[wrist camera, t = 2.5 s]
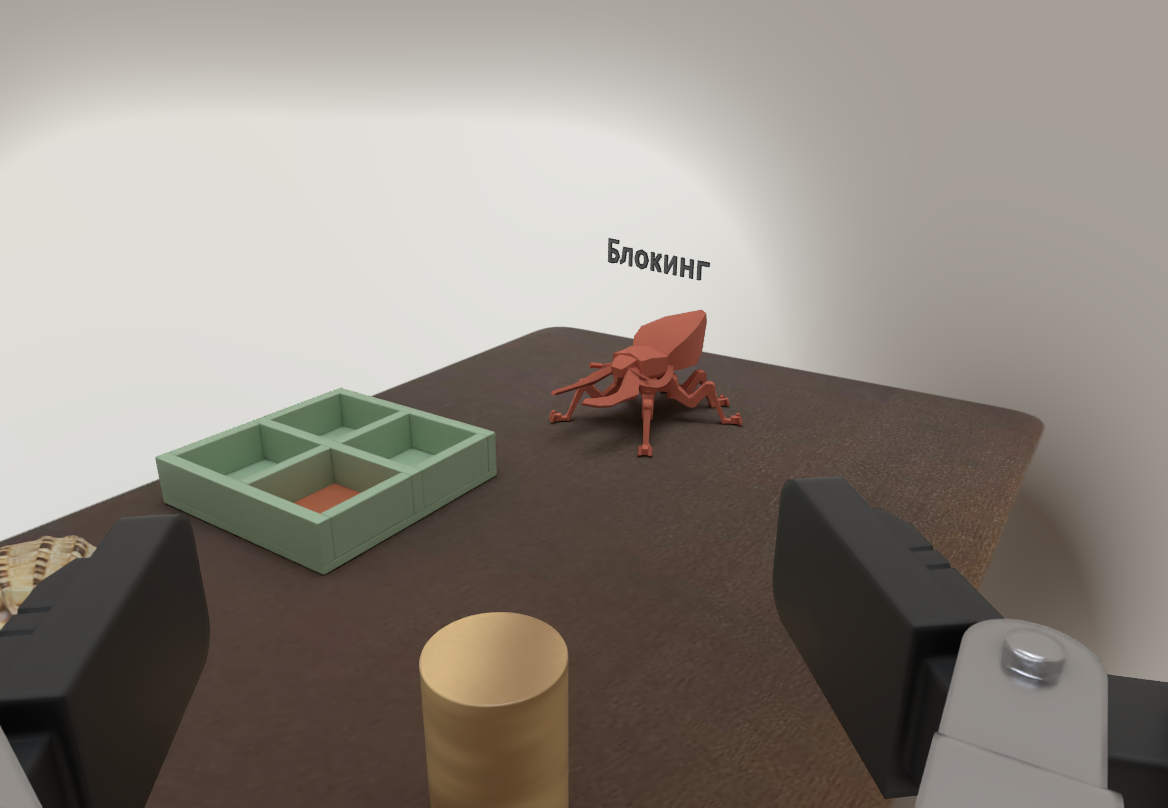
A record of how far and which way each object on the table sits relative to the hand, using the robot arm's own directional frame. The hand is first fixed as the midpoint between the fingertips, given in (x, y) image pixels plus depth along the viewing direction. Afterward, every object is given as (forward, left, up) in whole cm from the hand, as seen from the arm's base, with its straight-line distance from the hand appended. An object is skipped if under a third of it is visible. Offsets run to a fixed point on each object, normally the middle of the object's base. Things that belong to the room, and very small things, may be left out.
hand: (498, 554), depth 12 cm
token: (-2, +11, -18) cm, 21 cm away
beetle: (+1, +49, -18) cm, 52 cm away
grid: (-17, +36, -18) cm, 44 cm away
